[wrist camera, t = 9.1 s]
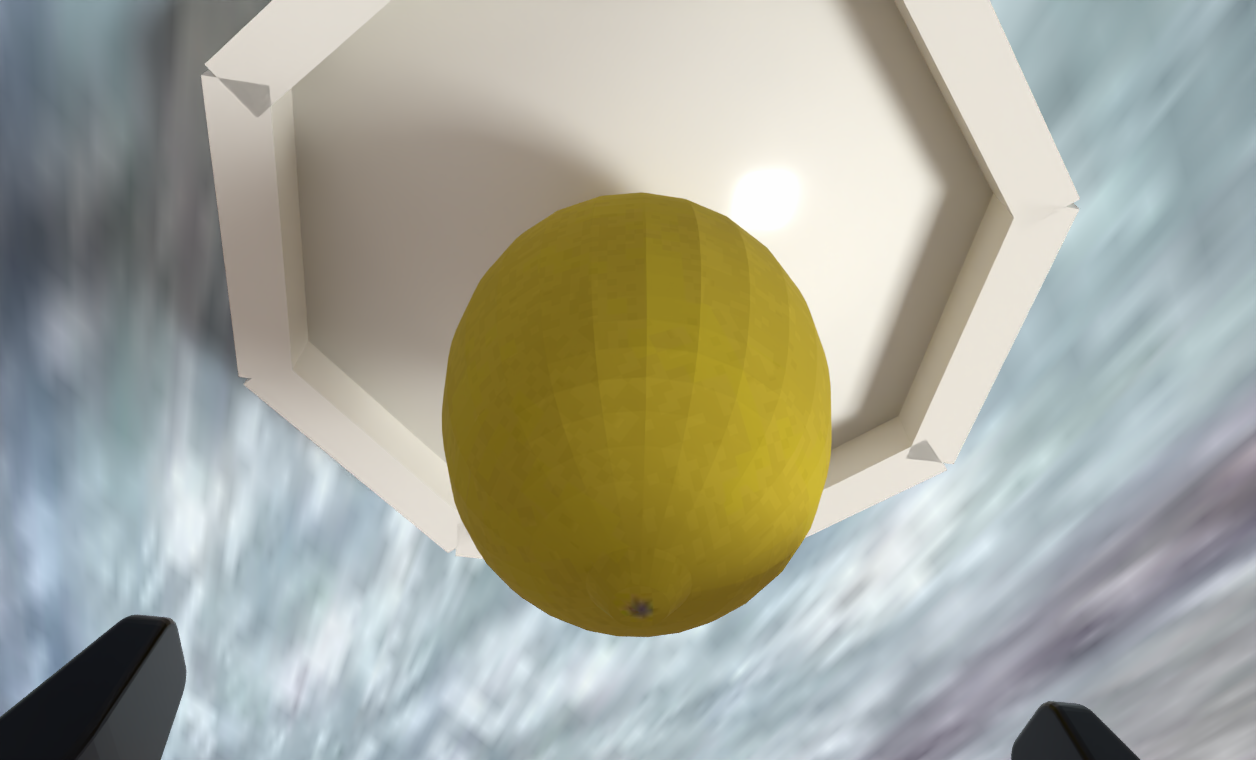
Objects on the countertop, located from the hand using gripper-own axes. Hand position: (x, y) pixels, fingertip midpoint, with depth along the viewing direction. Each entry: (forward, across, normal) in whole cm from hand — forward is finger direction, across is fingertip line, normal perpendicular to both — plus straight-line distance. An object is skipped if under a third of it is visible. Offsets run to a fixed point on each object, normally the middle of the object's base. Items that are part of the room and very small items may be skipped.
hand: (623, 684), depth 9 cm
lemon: (+9, 0, 0) cm, 9 cm away
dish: (+10, 0, 0) cm, 10 cm away
